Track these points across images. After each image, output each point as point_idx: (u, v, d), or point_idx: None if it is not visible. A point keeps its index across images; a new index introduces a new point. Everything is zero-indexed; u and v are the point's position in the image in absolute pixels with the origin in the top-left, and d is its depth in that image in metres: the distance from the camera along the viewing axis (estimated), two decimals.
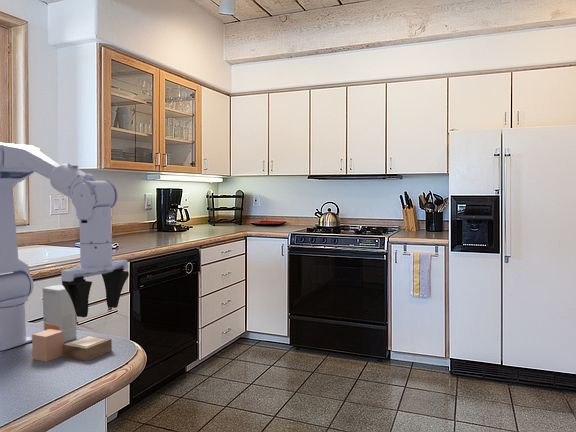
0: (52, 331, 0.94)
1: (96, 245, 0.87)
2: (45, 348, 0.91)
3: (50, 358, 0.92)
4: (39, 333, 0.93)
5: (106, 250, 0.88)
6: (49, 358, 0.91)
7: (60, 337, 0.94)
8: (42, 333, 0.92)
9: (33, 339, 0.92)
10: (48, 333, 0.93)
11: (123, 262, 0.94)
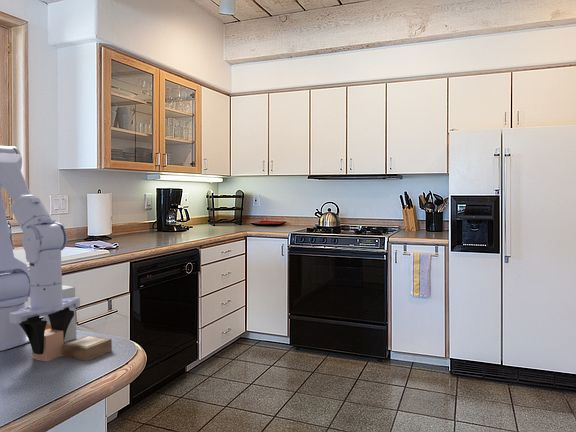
0: (52, 331, 0.94)
1: (45, 287, 0.90)
2: (45, 348, 0.91)
3: (50, 358, 0.91)
4: None
5: (55, 291, 0.91)
6: (49, 358, 0.91)
7: (60, 337, 0.94)
8: None
9: None
10: (48, 333, 0.93)
11: (75, 300, 0.98)
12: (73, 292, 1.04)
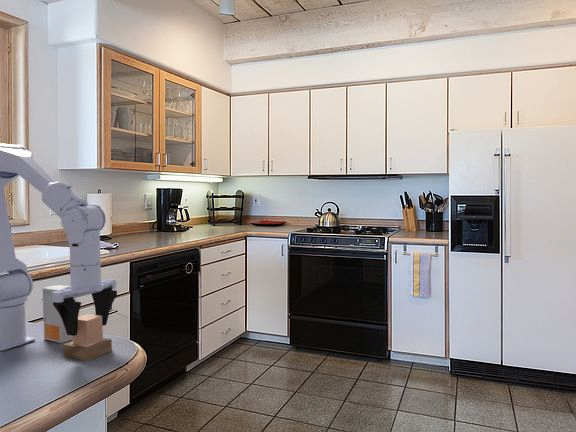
0: (91, 316, 0.95)
1: (85, 267, 0.92)
2: (86, 332, 0.92)
3: (90, 342, 0.93)
4: (79, 317, 0.94)
5: (95, 271, 0.93)
6: (89, 342, 0.93)
7: (99, 322, 0.95)
8: (81, 318, 0.94)
9: None
10: (88, 317, 0.94)
11: (112, 282, 0.99)
12: None
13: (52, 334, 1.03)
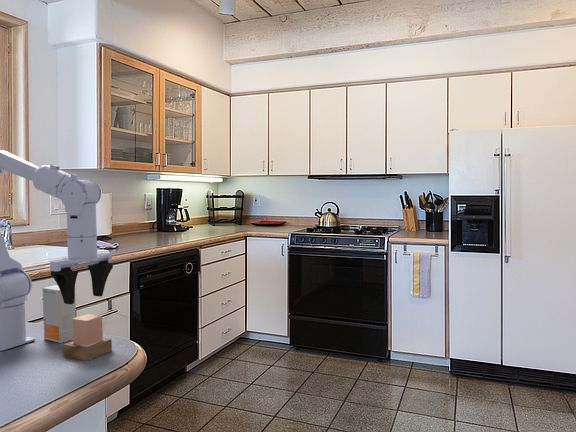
0: (91, 316, 0.95)
1: (82, 238, 0.95)
2: (86, 332, 0.92)
3: (90, 342, 0.93)
4: (79, 317, 0.94)
5: (91, 243, 0.96)
6: (89, 342, 0.93)
7: (99, 322, 0.95)
8: (81, 318, 0.94)
9: (73, 323, 0.93)
10: (88, 317, 0.94)
11: (108, 255, 1.03)
12: None
13: (52, 334, 1.03)
